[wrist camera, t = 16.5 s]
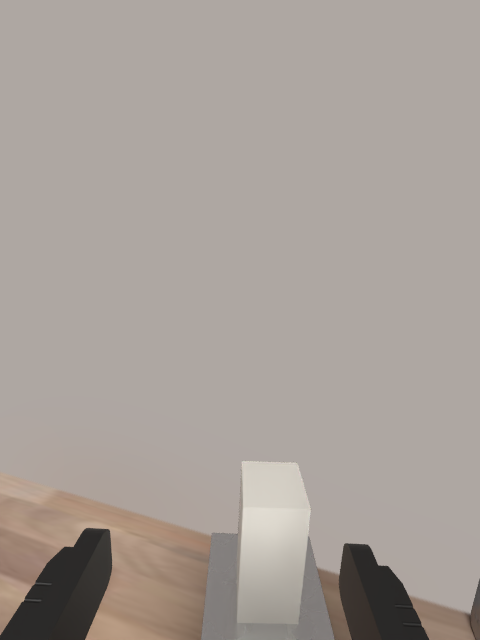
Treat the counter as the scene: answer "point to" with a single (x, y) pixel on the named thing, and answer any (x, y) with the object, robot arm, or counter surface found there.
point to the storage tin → (221, 601)
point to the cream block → (271, 542)
